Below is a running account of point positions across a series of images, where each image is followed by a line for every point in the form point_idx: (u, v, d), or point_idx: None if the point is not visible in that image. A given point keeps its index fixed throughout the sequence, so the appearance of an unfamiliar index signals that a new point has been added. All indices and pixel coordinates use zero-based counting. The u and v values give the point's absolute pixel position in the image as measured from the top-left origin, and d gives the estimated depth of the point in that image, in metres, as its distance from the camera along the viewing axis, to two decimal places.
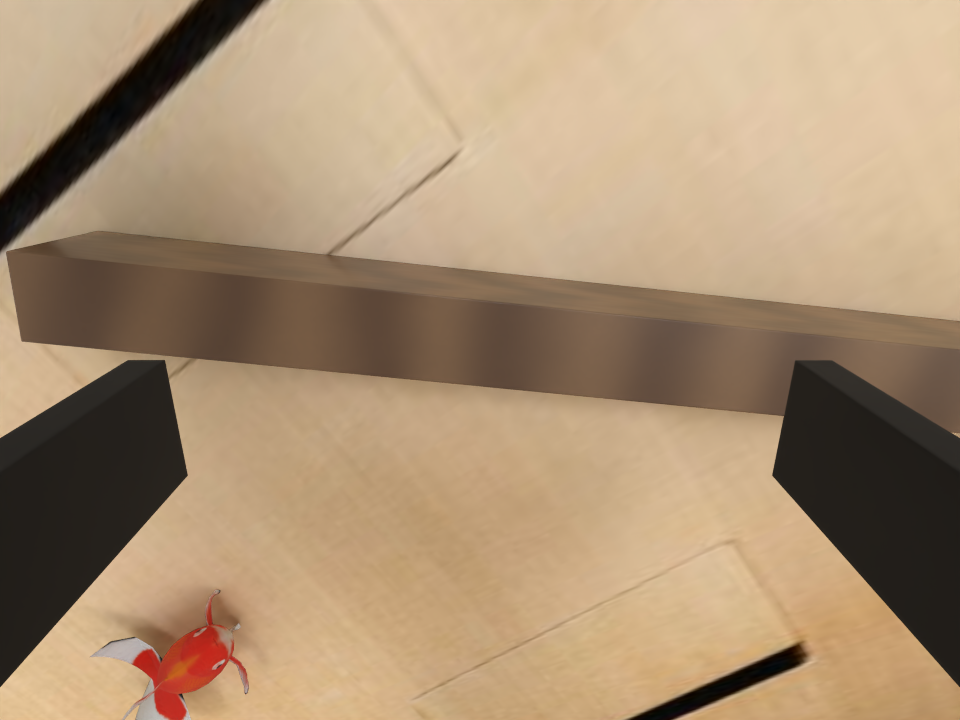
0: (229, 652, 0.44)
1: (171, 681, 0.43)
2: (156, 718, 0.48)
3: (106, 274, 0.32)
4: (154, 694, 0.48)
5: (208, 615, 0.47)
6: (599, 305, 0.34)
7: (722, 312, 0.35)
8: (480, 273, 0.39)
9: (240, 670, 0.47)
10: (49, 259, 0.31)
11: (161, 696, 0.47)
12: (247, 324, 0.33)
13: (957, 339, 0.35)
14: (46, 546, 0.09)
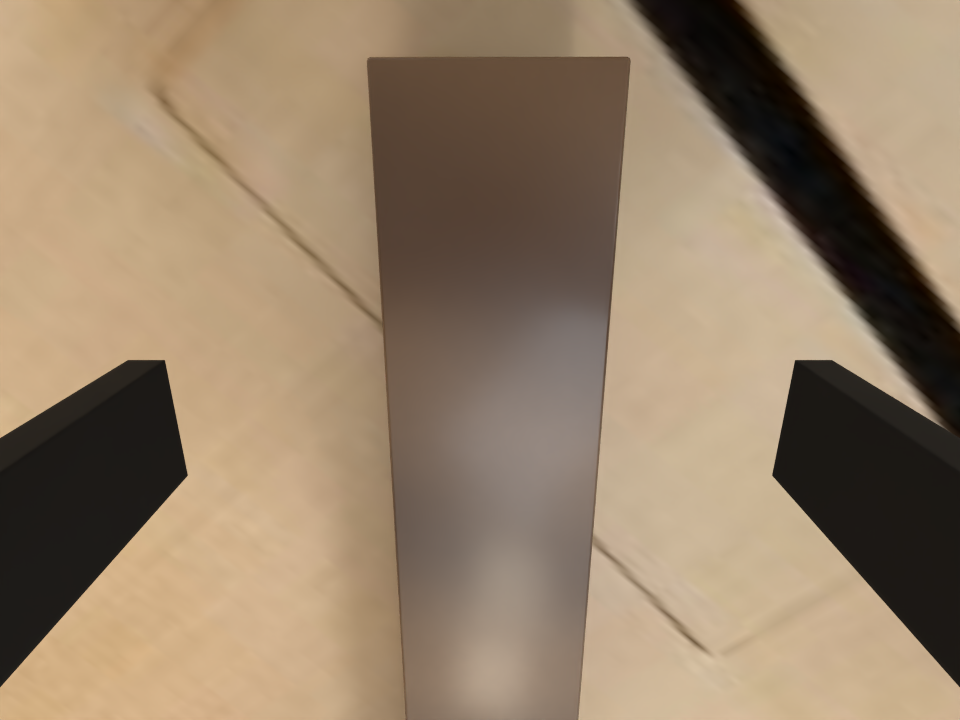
0: None
1: None
2: None
3: (578, 318, 0.13)
4: None
5: None
6: None
7: None
8: None
9: None
10: (613, 180, 0.12)
11: None
12: (485, 588, 0.16)
13: None
14: (46, 546, 0.09)
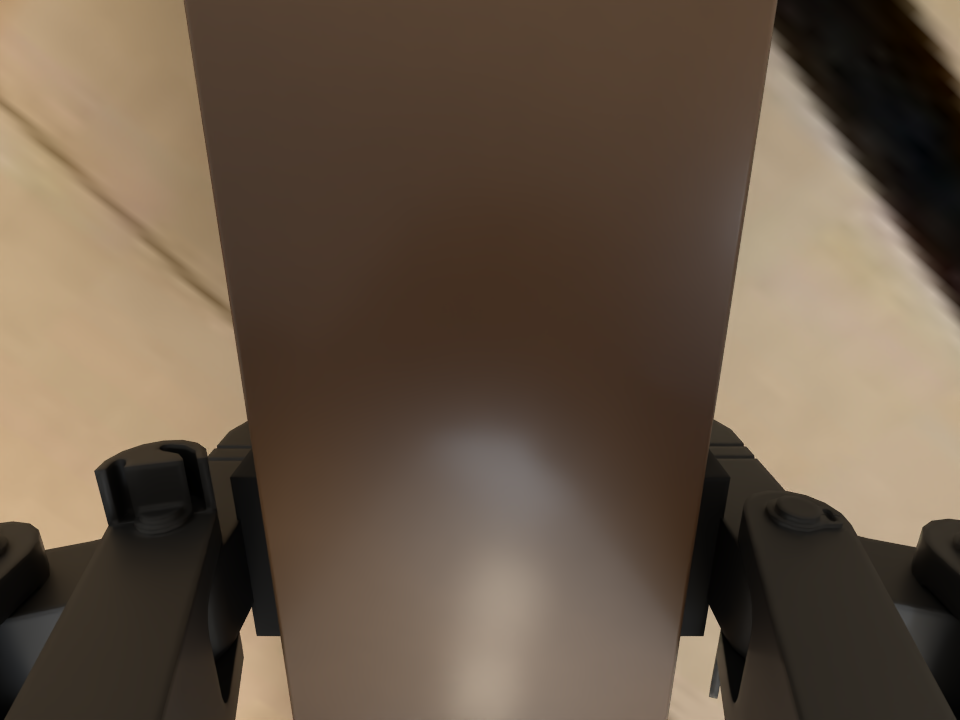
0: None
1: None
2: None
3: (644, 479, 0.07)
4: None
5: None
6: None
7: None
8: None
9: None
10: (729, 213, 0.06)
11: None
12: None
13: None
14: None
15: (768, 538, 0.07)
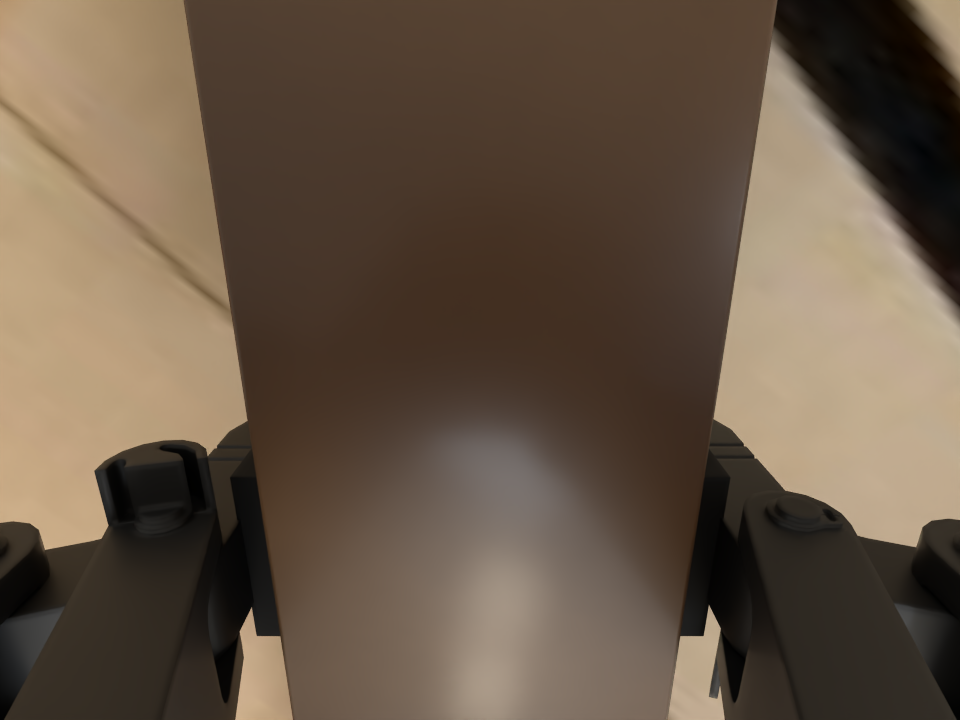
0: None
1: None
2: None
3: (644, 480, 0.07)
4: None
5: None
6: None
7: None
8: None
9: None
10: (729, 213, 0.06)
11: None
12: None
13: None
14: None
15: (768, 538, 0.07)
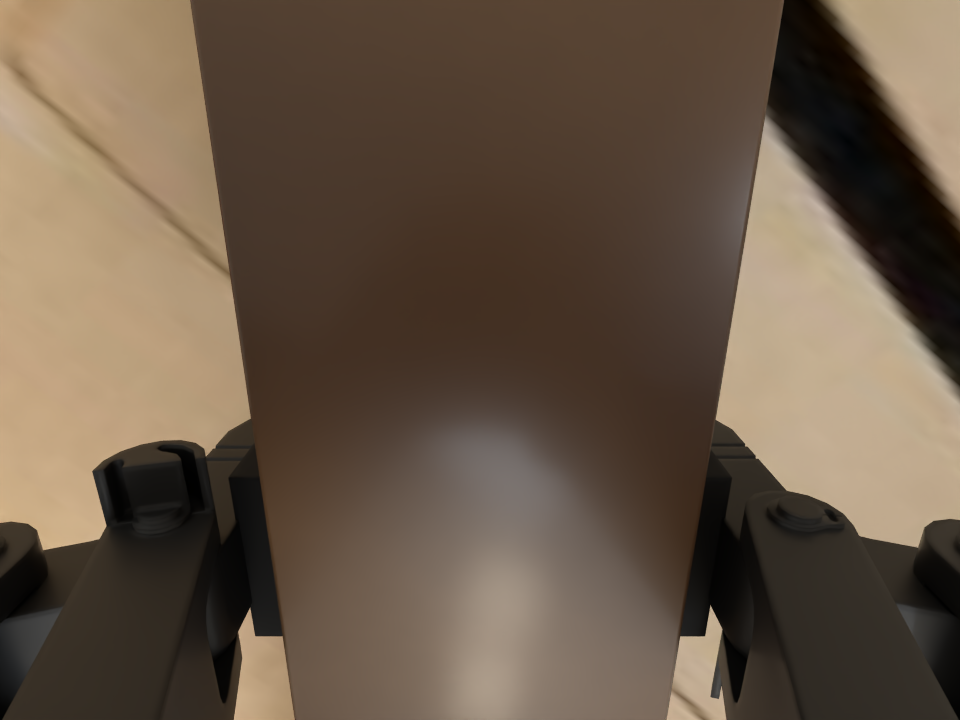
0: None
1: None
2: None
3: (646, 482, 0.07)
4: None
5: None
6: None
7: None
8: None
9: None
10: (733, 220, 0.06)
11: None
12: None
13: None
14: None
15: (770, 539, 0.07)
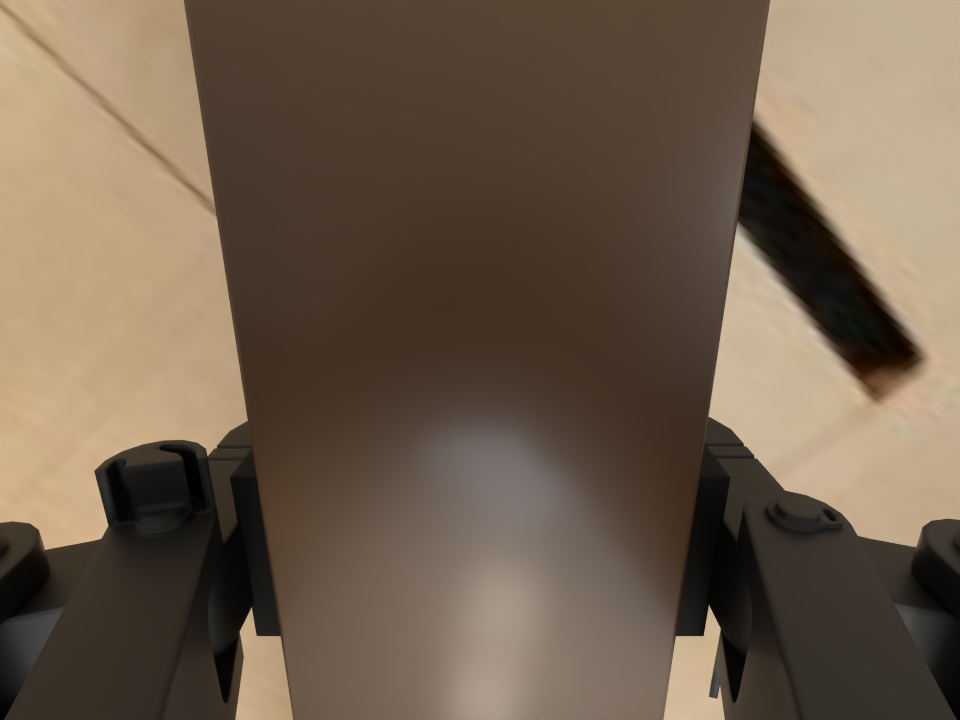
0: None
1: None
2: None
3: (640, 477, 0.07)
4: None
5: None
6: None
7: None
8: None
9: None
10: (723, 213, 0.06)
11: None
12: None
13: None
14: None
15: (768, 538, 0.07)
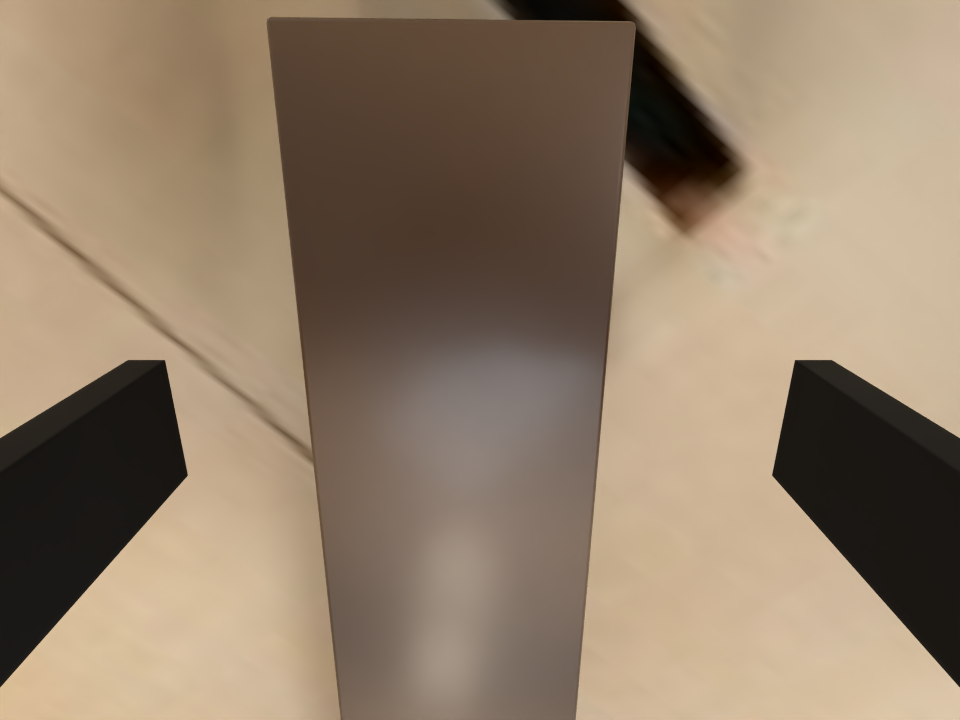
0: None
1: None
2: None
3: (565, 371, 0.10)
4: None
5: None
6: None
7: None
8: None
9: None
10: (610, 191, 0.09)
11: None
12: (449, 700, 0.12)
13: None
14: (46, 545, 0.09)
15: None
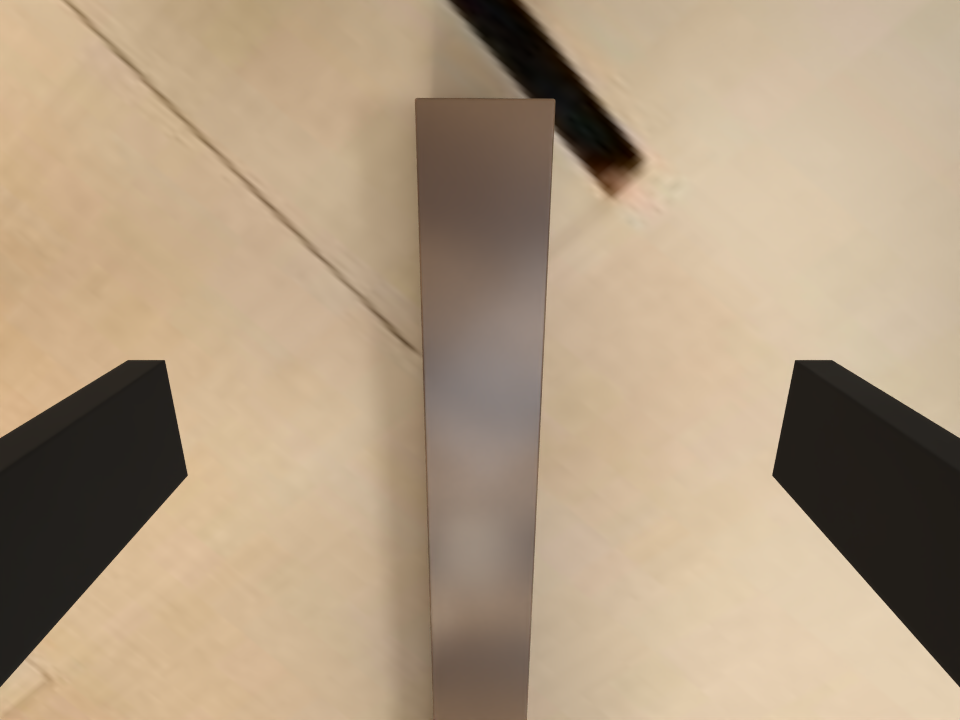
0: None
1: None
2: None
3: (530, 243, 0.23)
4: None
5: None
6: None
7: None
8: None
9: None
10: (547, 165, 0.22)
11: None
12: (477, 415, 0.26)
13: None
14: (46, 546, 0.09)
15: None
